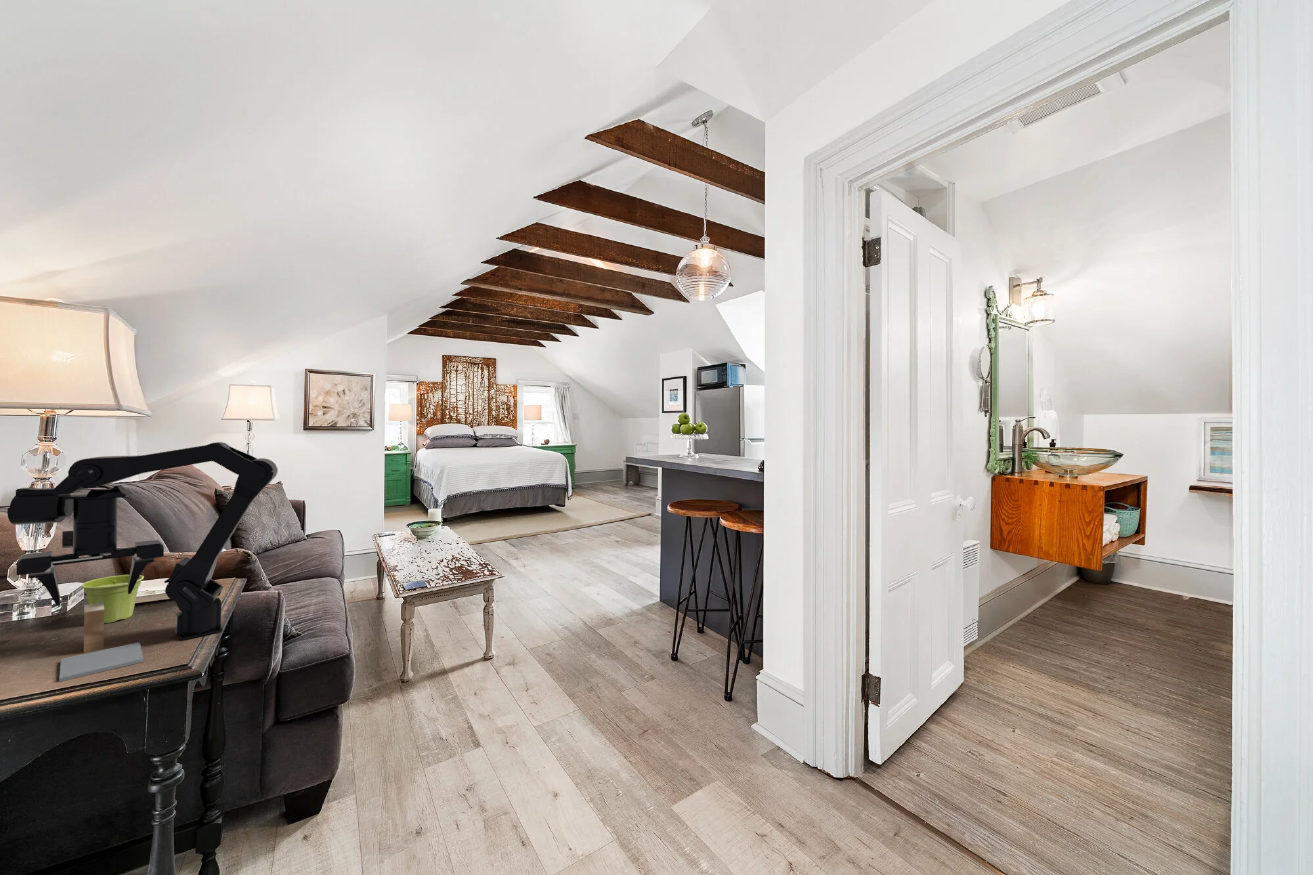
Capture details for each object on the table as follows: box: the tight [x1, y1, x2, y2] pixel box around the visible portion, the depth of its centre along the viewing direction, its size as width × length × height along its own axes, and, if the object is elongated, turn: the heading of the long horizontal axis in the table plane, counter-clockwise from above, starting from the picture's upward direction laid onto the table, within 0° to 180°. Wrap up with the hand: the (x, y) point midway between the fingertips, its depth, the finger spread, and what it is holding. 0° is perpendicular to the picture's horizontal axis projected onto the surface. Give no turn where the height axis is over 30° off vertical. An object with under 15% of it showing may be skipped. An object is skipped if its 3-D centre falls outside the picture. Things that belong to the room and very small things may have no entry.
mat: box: [58, 642, 144, 682], centre depth 91 cm, size 10×10×1 cm
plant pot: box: [80, 574, 145, 624], centre depth 110 cm, size 9×9×9 cm
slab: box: [83, 602, 105, 654], centre depth 97 cm, size 2×5×8 cm, turn 50°
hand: (95, 599), depth 97 cm, fingers open, 9 cm apart
